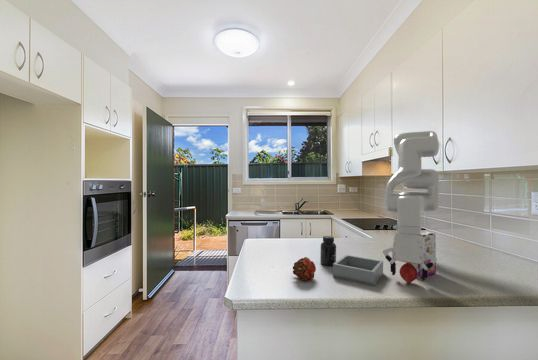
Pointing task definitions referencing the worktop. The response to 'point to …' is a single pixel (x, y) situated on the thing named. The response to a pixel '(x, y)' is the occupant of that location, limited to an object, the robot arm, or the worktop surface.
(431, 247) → the candy bar box
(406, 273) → the pomegranate
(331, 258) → the supplement bottle
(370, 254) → the worktop surface
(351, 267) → the bin
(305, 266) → the dragon fruit
